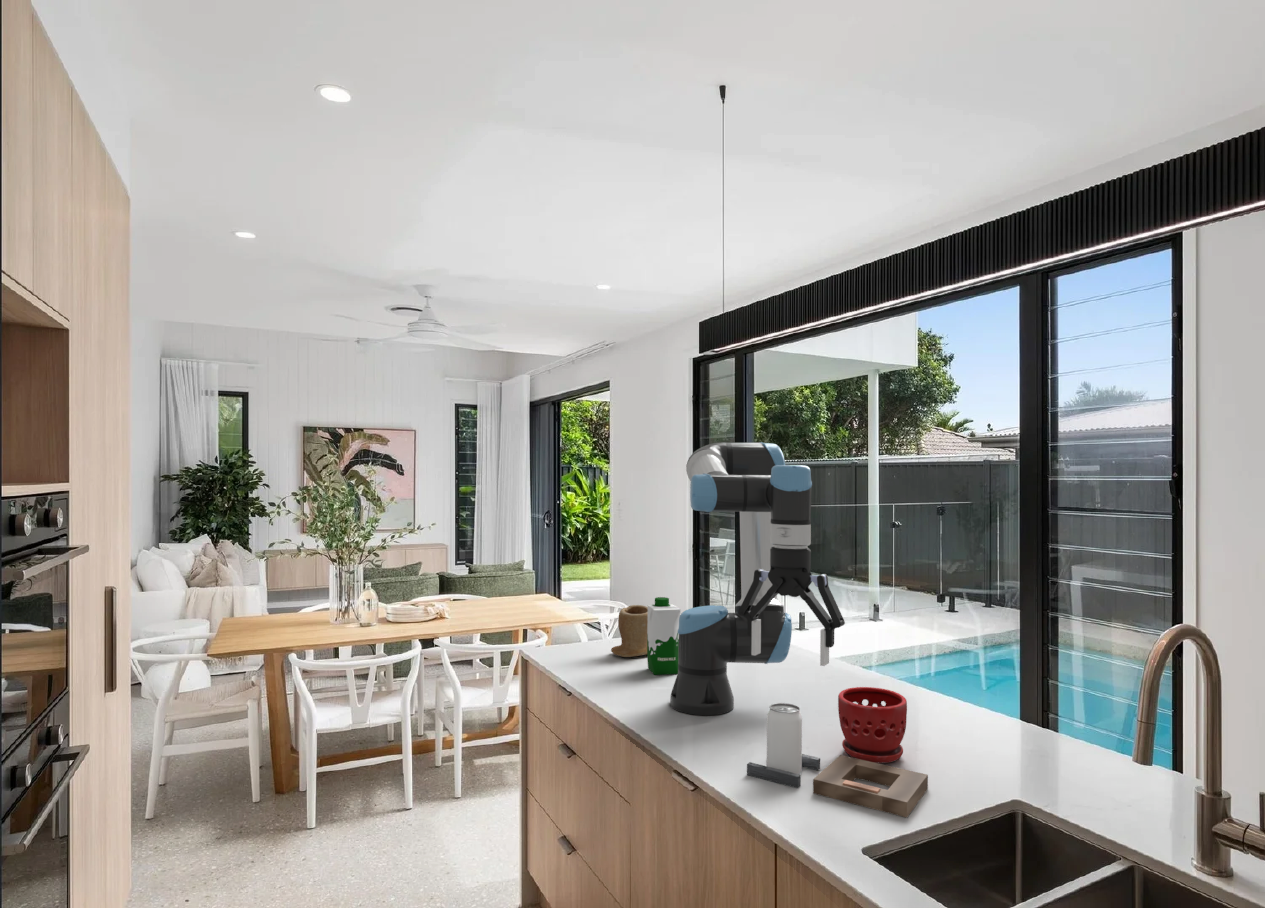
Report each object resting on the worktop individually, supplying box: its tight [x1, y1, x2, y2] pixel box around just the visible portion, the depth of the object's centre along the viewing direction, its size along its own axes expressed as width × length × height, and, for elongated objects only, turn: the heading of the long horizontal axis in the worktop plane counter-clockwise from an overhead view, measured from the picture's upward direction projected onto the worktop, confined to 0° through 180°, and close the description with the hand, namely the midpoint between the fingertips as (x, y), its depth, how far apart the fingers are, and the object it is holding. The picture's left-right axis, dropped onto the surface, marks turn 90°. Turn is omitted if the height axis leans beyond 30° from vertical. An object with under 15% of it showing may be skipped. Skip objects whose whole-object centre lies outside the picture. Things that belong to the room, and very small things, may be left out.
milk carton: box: [646, 596, 682, 676], centre depth 214 cm, size 9×9×20 cm
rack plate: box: [812, 754, 929, 818], centre depth 135 cm, size 16×14×3 cm
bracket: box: [746, 753, 821, 789], centre depth 144 cm, size 10×11×2 cm
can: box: [766, 702, 803, 775], centre depth 144 cm, size 6×6×12 cm
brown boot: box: [610, 604, 648, 658], centre depth 232 cm, size 15×12×15 cm
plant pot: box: [837, 686, 908, 764], centre depth 152 cm, size 13×13×12 cm
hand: (789, 659), depth 144 cm, fingers open, 13 cm apart
